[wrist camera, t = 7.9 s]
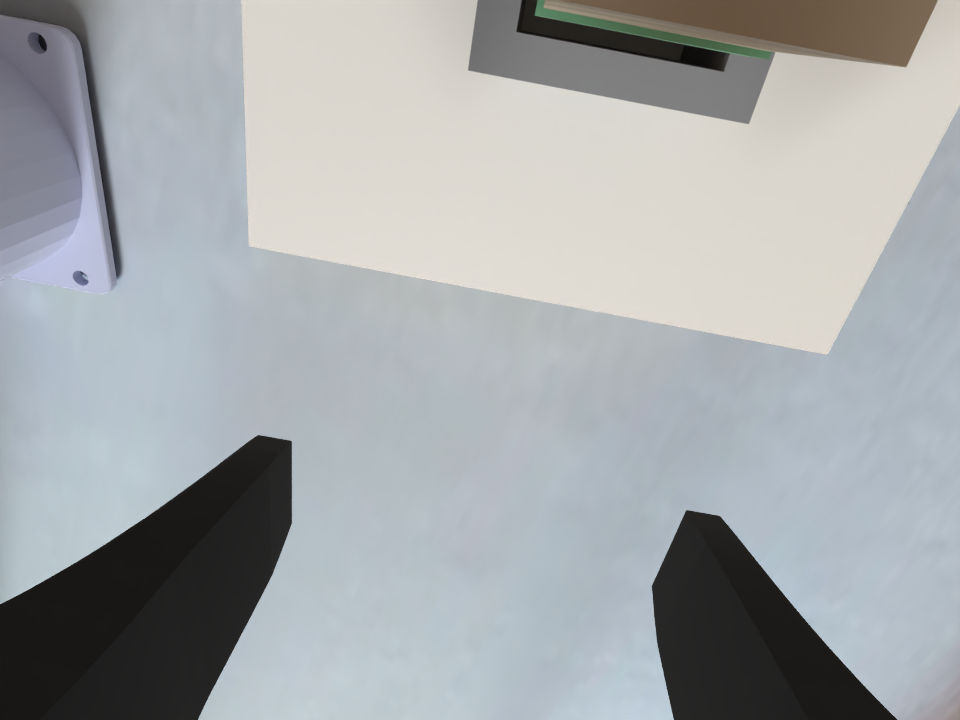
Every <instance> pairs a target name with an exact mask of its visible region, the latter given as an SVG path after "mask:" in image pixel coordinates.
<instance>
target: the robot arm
mask: <svg viewBox="0 0 960 720" xmlns="http://www.w3.org/2000/svg"><path fill="white" fill-rule="evenodd" d="M39 34H40V35H41V36H42V37H43V38H44V39H45V41H46V44H47V50H46V52H45V51H44V50H43V49H42V48H41V47H40V44H39V42H38V36H39ZM81 272H83V273H85V274H86V275H87V277H88V279H89V281H88V280H86V279H85V278H84V277H83V276H82V274H81ZM8 277H10V278H15V279H21V280H26V281H31V282H37V283H42V284H47V285H53V286H58V287H64V288H69V289H74V290H80V291H85V292H90V293H96V294H105V293H108V292H109V291H111V290H113V289H114V288H115V286H116V285H117V278H116V271H115V265H114V258H113V251H112V245H111V238H110V232H109V225H108V219H107V212H106V205H105V199H104V192H103V186H102V179H101V172H100V166H99V159H98V153H97V146H96V140H95V133H94V126H93V120H92V113H91V107H90V100H89V93H88V87H87V80H86V74H85V67H84V61H83V54H82V48H81V45H80V42H79V40H78V39H77V37H76V36H75V34H73V33H72V32H71V31H70V30H69V29H67V28H65V27H62V26H59V25H53V24H48V23H43V22H38V21H32V20H27V19H22V18H17V17H12V16H6V15H1V14H0V281H2V280H4V279H6V278H8ZM291 524H292V441H289V440H283V439H277V438H272V437H266V436H260V435H258V436H256V437H255V438H253V439H252V440H250V441H249V442H248V443H246V444H245V445H244V446H242V447H241V448H240V449H238V450H237V451H236V452H234V453H233V454H232V455H230V456H229V457H228V458H227V459H225V460H224V461H223V462H221V463H220V464H219V465H217V466H216V467H215V468H214V469H212V470H211V471H210V472H208V473H207V474H206V475H204V476H203V477H202V478H200V479H199V480H198V481H196V482H195V483H194V484H192V485H191V486H189V487H188V488H187V489H185V490H184V491H183V492H181V493H180V494H178V495H177V496H176V497H174V498H173V499H171V500H170V501H169V502H167V503H166V504H165V505H163V506H162V507H160V508H159V509H158V510H156V511H155V512H153V513H152V514H150V515H149V516H148V517H146V518H145V519H143V520H141V521H140V522H138V523H137V524H135V525H134V526H132V527H131V528H129V529H128V530H126V531H125V532H123V533H122V534H120V535H119V536H117V537H116V538H114V539H113V540H111V541H110V542H108V543H107V544H105V545H104V546H102V547H100V548H99V549H97V550H96V551H94V552H92V553H91V554H89V555H88V556H86V557H84V558H83V559H81V560H79V561H78V562H76V563H74V564H73V565H71V566H69V567H68V568H66V569H64V570H63V571H61V572H59V573H57V574H56V575H54V576H52V577H50V578H48V579H47V580H45V581H43V582H41V583H40V584H38V585H36V586H34V587H33V588H31V589H29V590H27V591H25V592H23V593H22V594H20V595H18V596H16V597H14V598H12V599H10V600H8V601H6V602H4V603H2V604H0V720H198V718H199V716H200V714H201V712H202V710H203V707H204V705H205V703H206V701H207V699H208V697H209V695H210V693H211V691H212V689H213V687H214V685H215V684H216V682H217V680H218V678H219V676H220V674H221V672H222V670H223V668H224V666H225V665H226V663H227V661H228V659H229V657H230V655H231V653H232V651H233V649H234V647H235V645H236V644H237V642H238V640H239V638H240V636H241V634H242V632H243V630H244V628H245V626H246V625H247V623H248V621H249V619H250V617H251V615H252V613H253V611H254V609H255V607H256V605H257V603H258V601H259V600H260V598H261V596H262V594H263V592H264V590H265V588H266V586H267V584H268V582H269V580H270V578H271V576H272V574H273V571H274V569H275V566H276V564H277V561H278V559H279V556H280V553H281V551H282V548H283V545H284V543H285V540H286V537H287V535H288V532H289V529H290V527H291ZM652 591H653V604H654V617H655V626H656V635H657V643H658V648H659V653H660V658H661V663H662V667H663V672H664V677H665V681H666V686H667V690H668V695H669V699H670V704H671V708H672V713H673V717H674V720H897V719H896V718H895V717H894V716H893V715H892V714H891V713H890V712H889V711H888V710H887V709H886V708H885V707H884V706H883V705H882V704H881V703H880V702H879V701H878V700H877V699H876V698H875V697H874V696H873V695H872V694H871V693H870V692H869V691H868V690H867V689H866V687H865V686H864V685H863V684H862V683H861V682H860V681H859V680H858V679H857V678H856V677H855V676H854V674H853V673H852V672H851V671H850V670H849V669H848V668H847V667H846V666H845V665H844V664H843V662H842V661H841V660H840V659H839V658H838V657H837V656H836V655H835V654H834V653H833V652H832V650H831V649H830V648H829V647H828V646H827V645H826V644H825V643H824V641H823V640H822V639H821V638H820V637H819V636H818V635H817V633H816V632H815V631H814V630H813V629H812V628H811V626H810V625H809V624H808V623H807V622H806V621H805V619H804V618H803V617H802V616H801V615H800V614H799V612H798V611H797V610H796V609H795V608H794V606H793V605H792V604H791V603H790V602H789V600H788V599H787V598H786V597H785V596H784V594H783V593H782V592H781V591H780V589H779V588H778V587H777V586H776V585H775V583H774V582H773V581H772V580H771V578H770V577H769V576H768V575H767V573H766V572H765V571H764V570H763V568H762V567H761V566H760V565H759V563H758V562H757V561H756V560H755V558H754V557H753V556H752V555H751V553H750V552H749V551H748V550H747V548H746V547H745V546H744V545H743V543H742V542H741V541H740V540H739V539H738V537H737V536H736V535H735V534H734V532H733V531H732V530H731V529H730V528H729V526H728V525H727V524H726V523H725V522H724V520H723V519H722V518H721V517H720V516H717V515H711V514H705V513H699V512H694V511H688V510H686V512H685V515H684V517H683V519H682V521H681V523H680V526H679V528H678V530H677V532H676V534H675V537H674V539H673V541H672V543H671V545H670V548H669V550H668V552H667V554H666V556H665V559H664V561H663V563H662V565H661V567H660V570H659V572H658V574H657V576H656V578H655V581H654V583H653V585H652Z"/></svg>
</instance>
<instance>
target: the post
mask: <svg viewBox="0 0 960 720" xmlns="http://www.w3.org/2000/svg"><path fill="white" fill-rule="evenodd" d="M937 1H938V0H537V6H536V11H535V16H539V17H544V18H549V19H554V20H560V21H565V22H570V23H575V24H580V25H586V26H591V27H596V28H601V29H606V30H612V31H617V32H622V33H627V34H632V35H637V36H643V37H648V38H653V39H658V40H663V41H669V42H674V43H679V44H684V45H689V46H695V47H700V48H705V49H710V50H715V51H720V52H726V53H731V54H736V55H741V56H747V57H754V58H760V59H767V60H769V59H770V56H771V53H772V52H780V53H788V54H797V55H805V56H814V57H822V58H831V59H839V60H848V61H856V62H865V63H873V64H882V65H890V66H899V67H907V65H908V63H909V60H910V58H911V56H912V54H913V52H914V50H915V48H916V46H917V44H918V41H919V39H920V37H921V35H922V33H923V31H924V29H925V27H926V25H927V22H928V20H929V18H930V16H931V14H932V12H933V10H934V8H935V6H936V4H937Z"/></svg>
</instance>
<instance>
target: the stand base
mask: <svg viewBox="0 0 960 720" xmlns="http://www.w3.org/2000/svg"><path fill="white" fill-rule="evenodd" d="M241 2H242V35H243V67H244V100H245V133H246V165H247V198H248V230H249V246H250V247H255V248H261V249H266V250H271V251H277V252H282V253H287V254H293V255H298V256H303V257H309V258H314V259H319V260H325V261H330V262H335V263H341V264H346V265H351V266H357V267H362V268H367V269H373V270H378V271H383V272H389V273H394V274H399V275H405V276H410V277H415V278H421V279H426V280H431V281H437V282H442V283H447V284H453V285H458V286H463V287H469V288H474V289H479V290H485V291H490V292H495V293H501V294H506V295H512V296H517V297H522V298H528V299H533V300H538V301H544V302H549V303H554V304H560V305H565V306H570V307H576V308H581V309H586V310H592V311H597V312H602V313H608V314H613V315H618V316H624V317H629V318H634V319H640V320H645V321H650V322H656V323H661V324H666V325H672V326H677V327H682V328H688V329H693V330H698V331H704V332H709V333H714V334H720V335H725V336H730V337H736V338H741V339H746V340H752V341H757V342H762V343H768V344H773V345H778V346H784V347H789V348H794V349H800V350H805V351H810V352H816V353H821V354H826V355H827V354H828V353H829V351H830V349H831V347H832V345H833V343H834V341H835V339H836V337H837V336H838V334H839V332H840V330H841V328H842V326H843V324H844V322H845V320H846V319H847V317H848V315H849V313H850V311H851V309H852V307H853V305H854V304H855V302H856V300H857V298H858V296H859V294H860V292H861V290H862V288H863V287H864V285H865V283H866V281H867V279H868V277H869V275H870V273H871V271H872V270H873V268H874V266H875V264H876V262H877V260H878V258H879V256H880V255H881V253H882V251H883V249H884V247H885V245H886V243H887V241H888V239H889V238H890V236H891V234H892V232H893V230H894V228H895V226H896V224H897V222H898V221H899V219H900V217H901V215H902V213H903V211H904V209H905V207H906V206H907V204H908V202H909V200H910V198H911V196H912V194H913V192H914V190H915V189H916V187H917V185H918V183H919V181H920V179H921V177H922V175H923V173H924V172H925V170H926V168H927V166H928V164H929V162H930V160H931V158H932V157H933V155H934V153H935V151H936V149H937V147H938V145H939V143H940V141H941V140H942V138H943V136H944V134H945V132H946V130H947V128H948V126H949V124H950V123H951V121H952V119H953V117H954V115H955V113H956V111H957V109H958V108H959V106H960V0H938V1H937V4H936V6H935V8H934V10H933V12H932V14H931V16H930V18H929V20H928V22H927V25H926V27H925V29H924V31H923V33H922V35H921V37H920V39H919V41H918V44H917V46H916V48H915V50H914V52H913V54H912V56H911V58H910V60H909V63H908V65H907V67H899V66H890V65H882V64H873V63H865V62H856V61H848V60H839V59H831V58H822V57H814V56H805V55H797V54H788V53H780V52H772V53H771V56H770V59H769V60H767V59H760V58H754V57H747V56H741V55H736V54H731V53H726V52H720V51H715V50H710V49H705V48H700V47H695V46H689V45H684V44H679V43H674V42H669V41H663V40H658V39H653V38H648V37H643V36H637V35H632V34H627V33H622V32H617V31H612V30H606V29H601V28H596V27H591V26H586V25H580V24H575V23H570V22H565V21H560V20H554V19H549V18H544V17H539V16H535V11H536V6H537V0H241Z"/></svg>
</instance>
